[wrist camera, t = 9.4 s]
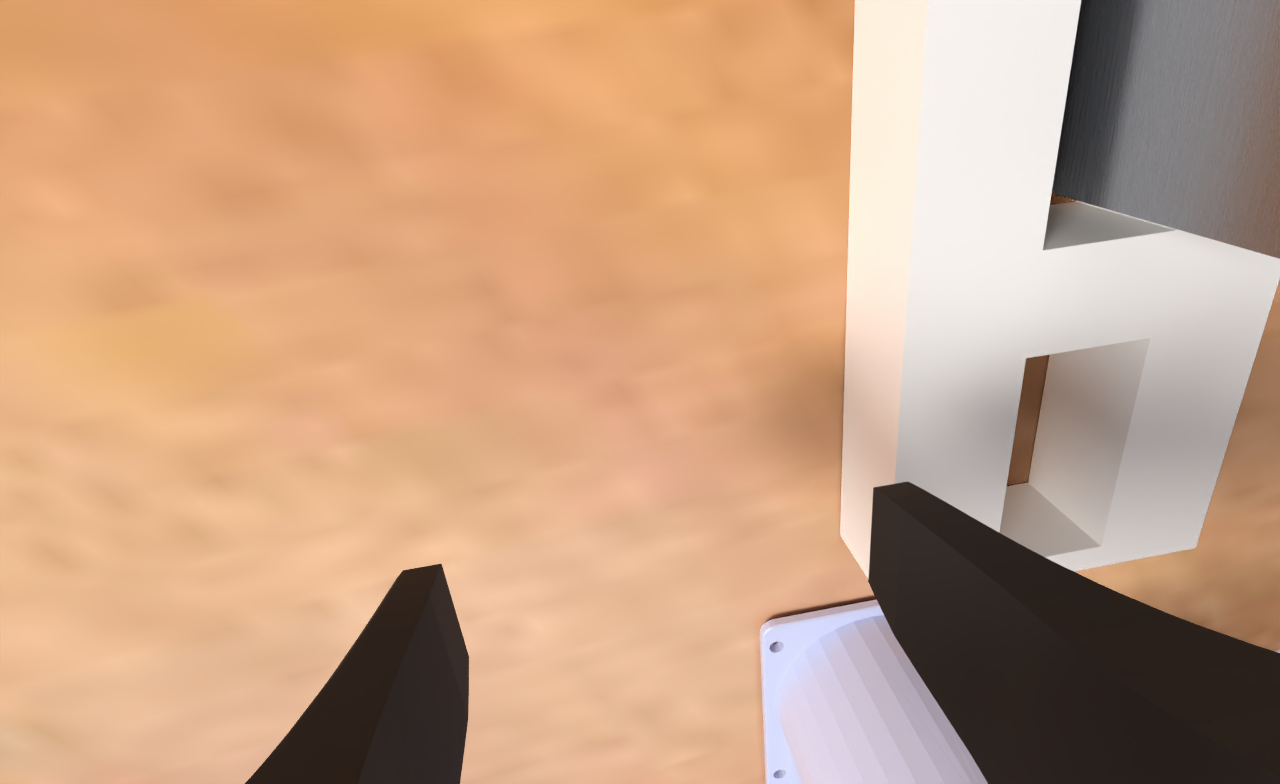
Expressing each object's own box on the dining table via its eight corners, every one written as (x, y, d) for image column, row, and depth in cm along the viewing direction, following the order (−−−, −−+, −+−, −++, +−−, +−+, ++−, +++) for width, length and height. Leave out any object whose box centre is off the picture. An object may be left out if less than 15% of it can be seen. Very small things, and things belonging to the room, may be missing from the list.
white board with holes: (1112, 485, 25) (1195, 547, 22) (840, 534, 24) (886, 607, 21) (1258, -138, 17) (1422, -178, 14) (857, -96, 16) (936, -128, 13)
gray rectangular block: (1058, 165, 20) (1422, 250, 12) (989, 175, 20) (1311, 267, 12) (1090, -45, 18) (1567, -117, 10) (1013, -36, 17) (1432, -102, 9)
